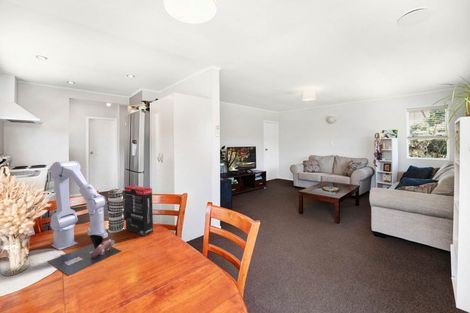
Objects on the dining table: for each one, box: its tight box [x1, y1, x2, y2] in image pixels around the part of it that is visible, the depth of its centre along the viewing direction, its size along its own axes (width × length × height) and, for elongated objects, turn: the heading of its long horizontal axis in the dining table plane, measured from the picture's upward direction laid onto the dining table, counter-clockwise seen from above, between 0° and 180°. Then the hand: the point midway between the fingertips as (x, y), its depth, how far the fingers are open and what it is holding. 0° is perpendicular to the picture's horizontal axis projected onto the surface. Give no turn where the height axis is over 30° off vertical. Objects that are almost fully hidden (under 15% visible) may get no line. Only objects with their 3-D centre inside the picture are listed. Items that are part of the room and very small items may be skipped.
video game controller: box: [91, 238, 116, 257], centre depth 100 cm, size 10×5×7 cm, turn 169°
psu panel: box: [47, 243, 122, 276], centre depth 98 cm, size 20×22×1 cm
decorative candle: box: [106, 188, 125, 234], centre depth 127 cm, size 9×9×25 cm
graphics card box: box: [124, 184, 154, 237], centre depth 124 cm, size 17×7×27 cm, turn 63°
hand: (97, 248), depth 102 cm, fingers closed
